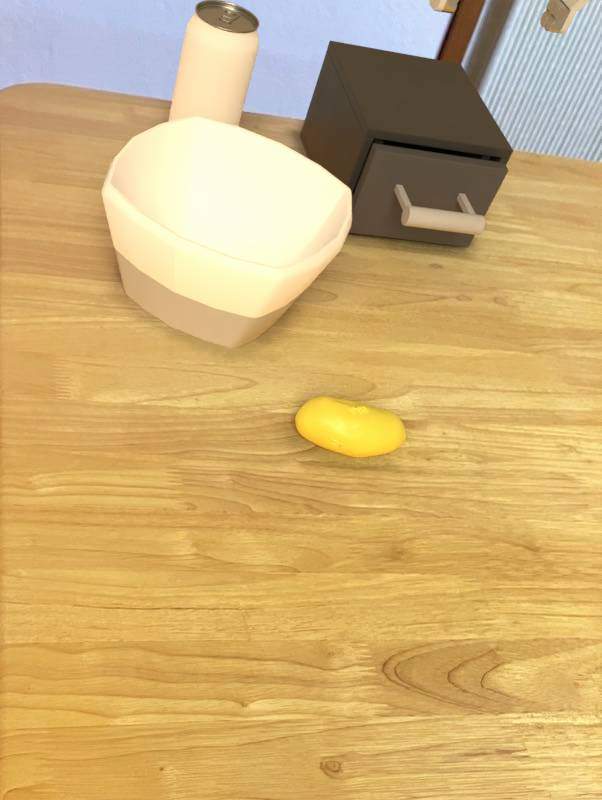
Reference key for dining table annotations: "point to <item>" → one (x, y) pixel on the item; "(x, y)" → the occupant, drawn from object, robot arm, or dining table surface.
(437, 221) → the drawer
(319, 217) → the bowl
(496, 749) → the dining table surface
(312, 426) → the lemon
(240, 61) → the can
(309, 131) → the cabinet
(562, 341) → the dining table surface
